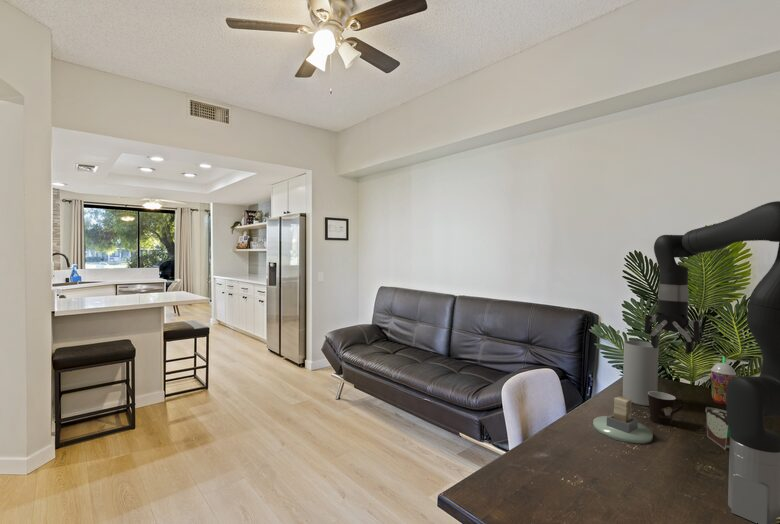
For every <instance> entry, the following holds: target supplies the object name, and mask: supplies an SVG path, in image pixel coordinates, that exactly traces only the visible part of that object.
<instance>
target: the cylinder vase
mask: <svg viewBox="0 0 780 524" xmlns="http://www.w3.org/2000/svg"><path fill="white" fill-rule="evenodd" d="M659 347H660V345H658V348H653V346H652V345H651V342H649V341H641V340H624V341H623V361H622V362H623V363H622V364H623V365H622V366H623V368H622V369H623V370H622V371H623V372H622V397H624V398H627V399H631V404H635V405H639V406H647V407H649V400H648V392H651V391H656V392H658V387H659V386H658V384H659V383H658V382H659V381H658V380H659V352H660V351H659V349H660V348H659Z"/></svg>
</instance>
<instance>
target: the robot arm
mask: <svg viewBox="0 0 780 524" xmlns="http://www.w3.org/2000/svg"><path fill="white" fill-rule="evenodd" d="M750 241H751V242H754V241H766V242H771V243H772V242H773V243H778V246H777V247H778V248H777V253H776V257H775V260H774V263H773V264H772V266H771V267H770V269H769V270H768V272H767V273H766V274H765V275H764V276H763V277H762V278H761V279H760V281H759V282H758V283H757V284H756V286H755V287H754V289H753V290H752V292H751V293H750V297H749V303H748V307H747V314H746V316H747V317H746V322H747V326H748V329H749V331H750V332H751V335H752V337H753V338H754V340H755V342H756V344H757V345H758V348H759V350H760V353H761V359H762V360H761V369H760V373H759V375H758V376H755V375H754V376H753V375H752V376H751V375H749V376H747V375H741V376H740V375H736V377H733V378H731V379H730V380H729V382H728V384H727V388H726V405H725V406H726V409H725V411H727V423H728V426H729V429H730V450H729V453H728V454H729V456H728V458H729V459H728V460H729V461H728V485H727V486H728V487H727V488H728V493H727V494H728V496H727V499H728V500H727V505H728V507H729V509H730V510H731V513H732V514H734V515H737V516H739V517H741V518H743V519H746V520H748V521H750V522H752V523H755V524H757V523H758V524H771V523H774V522H775V521H776V518H777V517H778V516H780V434H778V433H776V432H774V431H772V430H770V429H768V428H765V424H764V423H765V421H764V418H780V200H775V201H771V202H766V203H764V204H761V205H759V206H757V207H754V208H752V209H750V210H748V211H745V212H743V213H741V214H740V215H737V216H734V217H731V218H729V219H727V220H723V221H721V222H718V223H714V224H710V225H706V226H702V227H699V228H694V229H691V230H688V231H687V232H686V233H684V234H662V235H660V236H657V238H656V239H655V242H654V243H653V244H654V245H653V251H654V252H653V253H654V256H655V259H656V262H657V266H658V270H659V286H658V291H657V293H658V295H657V314H656V315H653V314H646V315H645V322H644V333H645V334H648V335H650V343H651V345H652V346H653V348H658V346H659V334H660V333H661V332H663V331H665V332H673V333H679V334H681V336H682V337H683V338H684V339H685V340H686V341H685V355H691V354H692V353H693V352H694V345H695V344H694V342H699V341H701V340H703V331H702V321H701V320H699V319H696V320H692V319H691V320H690V319H689V299H690V295H689V288H688V287H689V286H688V285H689V270H688V268H687V267H686V266H684V265H680V264H678V263H677V262H676V259H675V258H677V259H679V258H681V259H682V258H683V259H684V258H690V257H694V256H696V255H699V254H702V253H707V252H713V251H718V250H722V249H724V248H727V247H729V246H730V245H732V244H735V243H741V242H750ZM655 321H656V322H657V324H658V325H657V327H655V328H654V329H653V323H654V322H655ZM689 325H690V326H691V328H693V335H692V334H691V332H690V330H689V329H688V328H687V327H688V326H689Z"/></svg>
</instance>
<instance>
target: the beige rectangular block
mask: <svg viewBox="0 0 780 524" xmlns="http://www.w3.org/2000/svg"><path fill="white" fill-rule="evenodd" d="M613 414H614V419H616V420H619V421H622V422H625V423H629V422H631V418H632V403H631V399H627V398H624V397H623V396H620V395H618V396H616V397H613Z"/></svg>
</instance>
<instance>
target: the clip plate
mask: <svg viewBox="0 0 780 524" xmlns="http://www.w3.org/2000/svg"><path fill="white" fill-rule="evenodd" d="M592 421H593V422H592V423H593V424H592V425H593V428H594V430H596V431H597V432H598V433H600V434H601V435H603V436H605V437H608V438H610V439H611V440H612V439H613V440H616V441H620V442H623V443H628V444H629V443H630V444H638V445H639V444H648V443H651V442H652V441H653V437H654V435H653V431H652V430H651V429H650V428H649V427H647V426H646V425H644V424H643V423H640V422H639V420H638V419H636V418H633V417H631V422H629V423H625V422H622V421H619V420H616V419H614V413H613V414H610V415H602V416H601V415H600V416H596V417H595V418H594V419H593V420H592Z"/></svg>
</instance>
